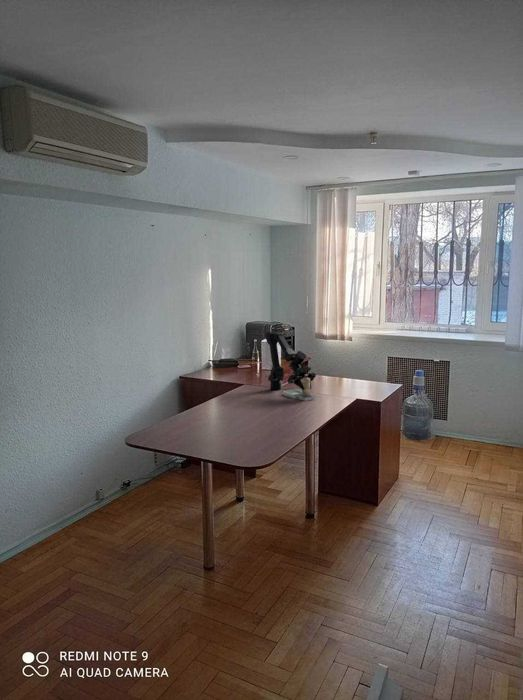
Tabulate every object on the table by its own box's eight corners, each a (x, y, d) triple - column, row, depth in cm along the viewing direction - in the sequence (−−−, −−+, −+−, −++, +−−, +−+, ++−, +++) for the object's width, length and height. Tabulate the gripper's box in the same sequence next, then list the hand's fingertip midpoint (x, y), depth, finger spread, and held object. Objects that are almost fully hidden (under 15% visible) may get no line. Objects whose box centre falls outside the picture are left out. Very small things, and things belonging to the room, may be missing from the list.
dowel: (300, 399, 318) (301, 378, 316) (303, 397, 322) (303, 377, 321) (308, 400, 316) (308, 379, 314) (310, 398, 320) (311, 378, 319)
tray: (282, 395, 330) (282, 391, 330) (297, 393, 336) (297, 389, 336) (293, 398, 320) (293, 394, 320) (308, 396, 327) (308, 392, 326)
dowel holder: (297, 398, 320) (297, 395, 320) (307, 397, 324) (307, 394, 324) (304, 401, 314) (304, 397, 314) (314, 399, 318) (314, 396, 318)
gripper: (290, 362, 314) (300, 383, 307) (314, 360, 324) (325, 380, 317) (283, 373, 322) (293, 393, 314) (306, 370, 332) (317, 390, 324)
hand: (307, 389), depth 317 cm, fingers closed on dowel, 5 cm apart
